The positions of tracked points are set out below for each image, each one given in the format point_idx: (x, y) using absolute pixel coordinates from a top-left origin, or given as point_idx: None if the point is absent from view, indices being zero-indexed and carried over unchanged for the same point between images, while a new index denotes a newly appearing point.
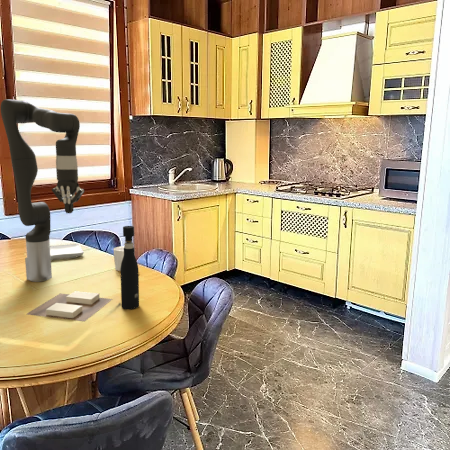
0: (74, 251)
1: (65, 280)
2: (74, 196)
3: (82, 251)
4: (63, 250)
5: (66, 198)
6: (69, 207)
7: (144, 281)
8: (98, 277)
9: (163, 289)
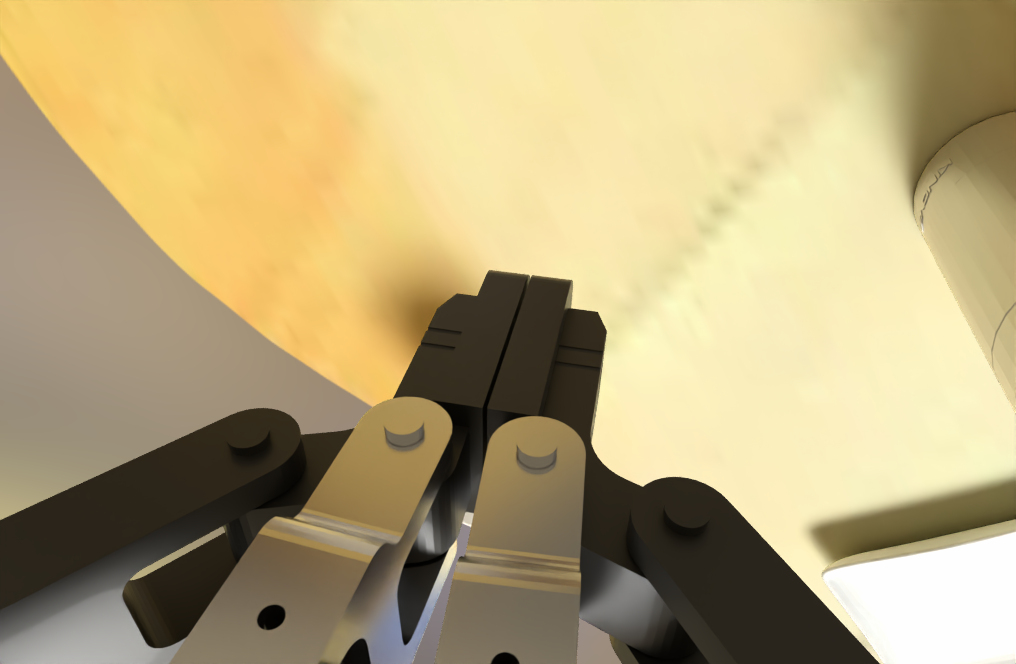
0: (909, 622)
1: (788, 178)
2: (111, 551)
3: (837, 591)
4: (990, 639)
5: (468, 552)
6: (459, 356)
7: (295, 232)
8: (586, 260)
9: (129, 126)
